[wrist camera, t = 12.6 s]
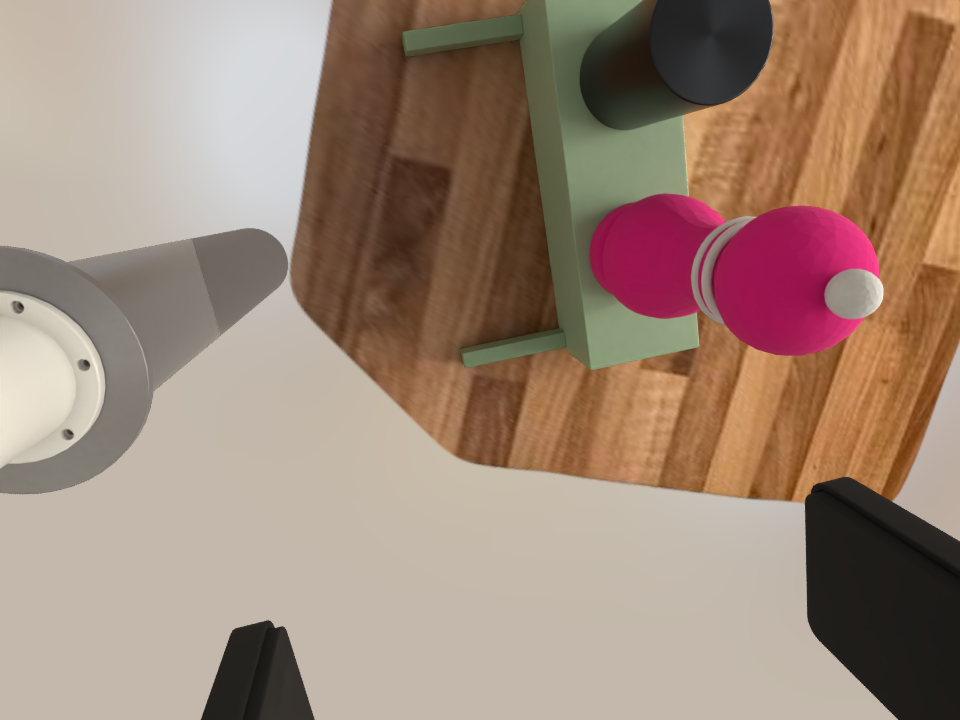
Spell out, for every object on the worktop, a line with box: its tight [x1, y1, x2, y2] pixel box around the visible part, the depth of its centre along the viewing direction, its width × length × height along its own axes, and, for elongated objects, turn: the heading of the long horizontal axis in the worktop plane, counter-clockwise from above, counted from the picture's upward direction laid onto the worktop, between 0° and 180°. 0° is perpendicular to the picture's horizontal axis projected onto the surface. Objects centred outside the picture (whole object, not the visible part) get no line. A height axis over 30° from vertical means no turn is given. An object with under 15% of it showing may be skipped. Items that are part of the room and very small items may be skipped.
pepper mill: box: [589, 193, 883, 356], centre depth 30 cm, size 7×7×20 cm
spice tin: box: [580, 0, 774, 130], centre depth 32 cm, size 6×6×10 cm
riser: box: [402, 0, 699, 370], centre depth 41 cm, size 16×24×7 cm, turn 10°
